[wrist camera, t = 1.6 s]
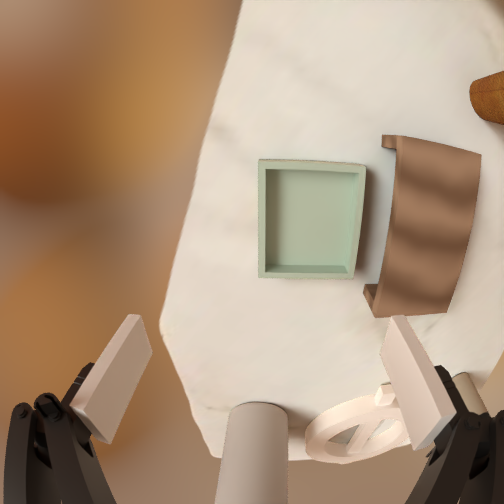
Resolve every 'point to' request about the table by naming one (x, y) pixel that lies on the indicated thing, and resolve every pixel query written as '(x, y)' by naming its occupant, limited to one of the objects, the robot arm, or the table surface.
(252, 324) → the table surface
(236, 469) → the cylinder vase
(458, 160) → the walnut overhang
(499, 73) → the disposable coffee cup
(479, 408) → the travel mug
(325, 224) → the green tray
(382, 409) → the ring with crossbar
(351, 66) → the table surface
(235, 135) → the table surface
